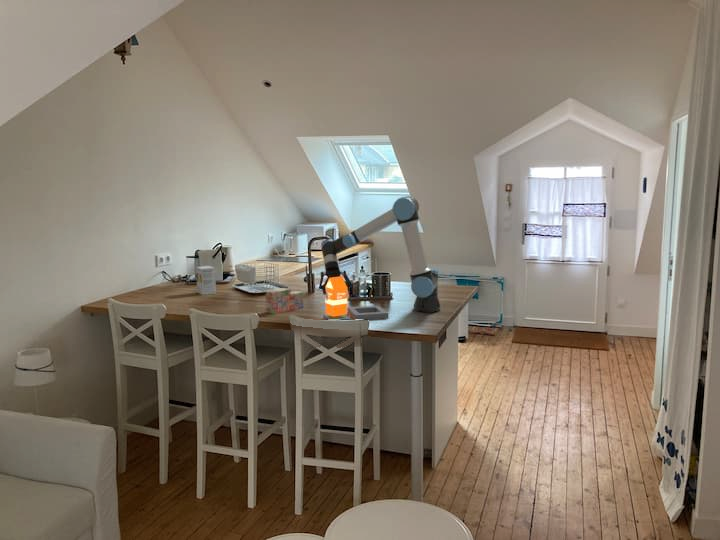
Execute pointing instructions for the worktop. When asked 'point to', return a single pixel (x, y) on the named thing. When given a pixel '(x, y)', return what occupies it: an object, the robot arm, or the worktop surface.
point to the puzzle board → (367, 312)
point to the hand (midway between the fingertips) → (337, 298)
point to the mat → (336, 317)
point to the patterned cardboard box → (283, 300)
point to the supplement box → (206, 280)
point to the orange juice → (336, 297)
